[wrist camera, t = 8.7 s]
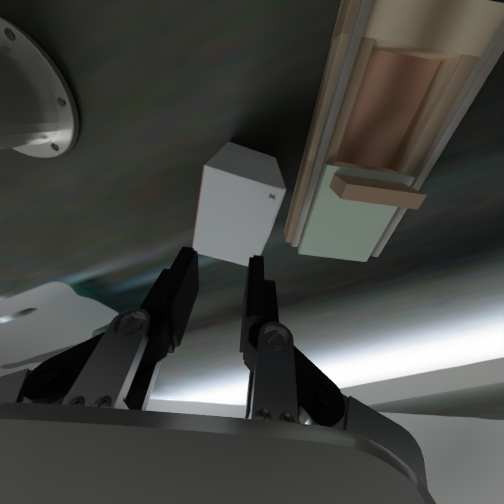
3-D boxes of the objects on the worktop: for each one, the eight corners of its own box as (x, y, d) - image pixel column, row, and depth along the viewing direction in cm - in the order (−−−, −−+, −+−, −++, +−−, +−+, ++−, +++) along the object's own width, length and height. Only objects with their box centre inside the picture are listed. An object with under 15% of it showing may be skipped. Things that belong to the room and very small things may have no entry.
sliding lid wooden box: (283, 231, 31) (286, 245, 28) (342, -5, 17) (361, -33, 14) (369, 242, 32) (382, 257, 28) (491, 22, 18) (543, 1, 15)
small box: (227, 140, 24) (202, 161, 13) (276, 156, 25) (289, 188, 14) (215, 201, 29) (190, 253, 18) (257, 213, 30) (256, 270, 19)
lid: (297, 249, 29) (304, 271, 25) (324, 163, 22) (339, 174, 18) (363, 257, 30) (379, 280, 26) (409, 175, 23) (442, 188, 19)
